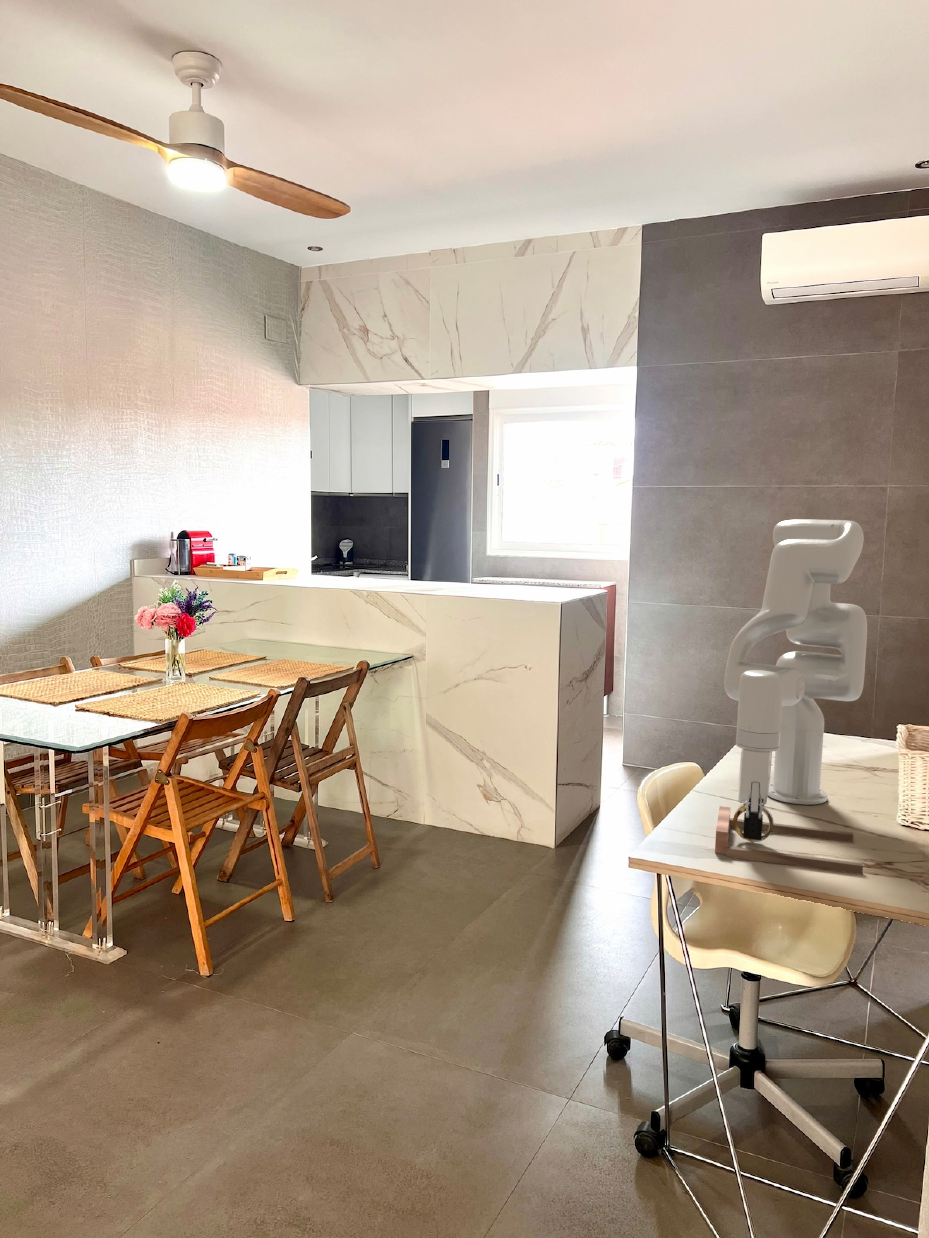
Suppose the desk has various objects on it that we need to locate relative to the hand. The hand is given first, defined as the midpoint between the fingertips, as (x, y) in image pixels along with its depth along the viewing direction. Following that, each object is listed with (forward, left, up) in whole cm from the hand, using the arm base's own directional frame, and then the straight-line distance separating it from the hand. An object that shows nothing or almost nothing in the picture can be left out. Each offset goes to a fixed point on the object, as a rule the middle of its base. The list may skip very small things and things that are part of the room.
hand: (752, 836), depth 163 cm
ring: (0, 0, -1) cm, 1 cm away
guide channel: (0, +6, -1) cm, 6 cm away
